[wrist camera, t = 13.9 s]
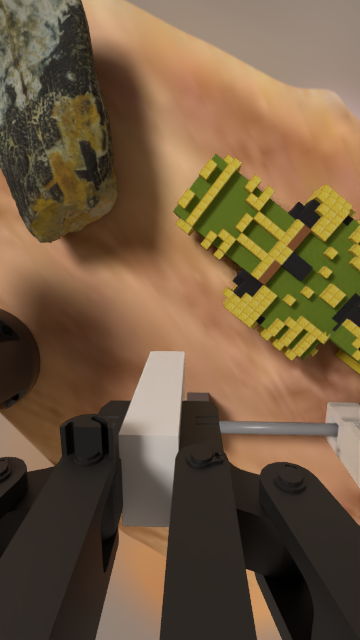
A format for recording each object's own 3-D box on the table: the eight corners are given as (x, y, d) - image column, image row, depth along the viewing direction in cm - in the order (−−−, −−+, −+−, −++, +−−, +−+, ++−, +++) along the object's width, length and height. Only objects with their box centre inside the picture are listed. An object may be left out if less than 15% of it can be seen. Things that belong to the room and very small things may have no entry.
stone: (158, 207, 43) (84, -41, 34) (122, 222, 32) (1, -129, 24) (66, 235, 48) (-20, 24, 39) (9, 256, 37) (-125, -24, 29)
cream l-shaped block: (323, 435, 47) (361, 490, 37) (327, 402, 46) (367, 449, 35) (352, 436, 47) (398, 492, 36) (357, 402, 46) (406, 449, 35)
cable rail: (187, 430, 49) (186, 455, 43) (187, 392, 48) (186, 413, 42) (387, 434, 48) (414, 460, 42) (394, 396, 47) (422, 418, 41)
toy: (247, 103, 32) (478, 297, 33) (238, 140, 42) (416, 288, 43) (143, 243, 36) (356, 415, 37) (158, 247, 46) (325, 381, 47)
